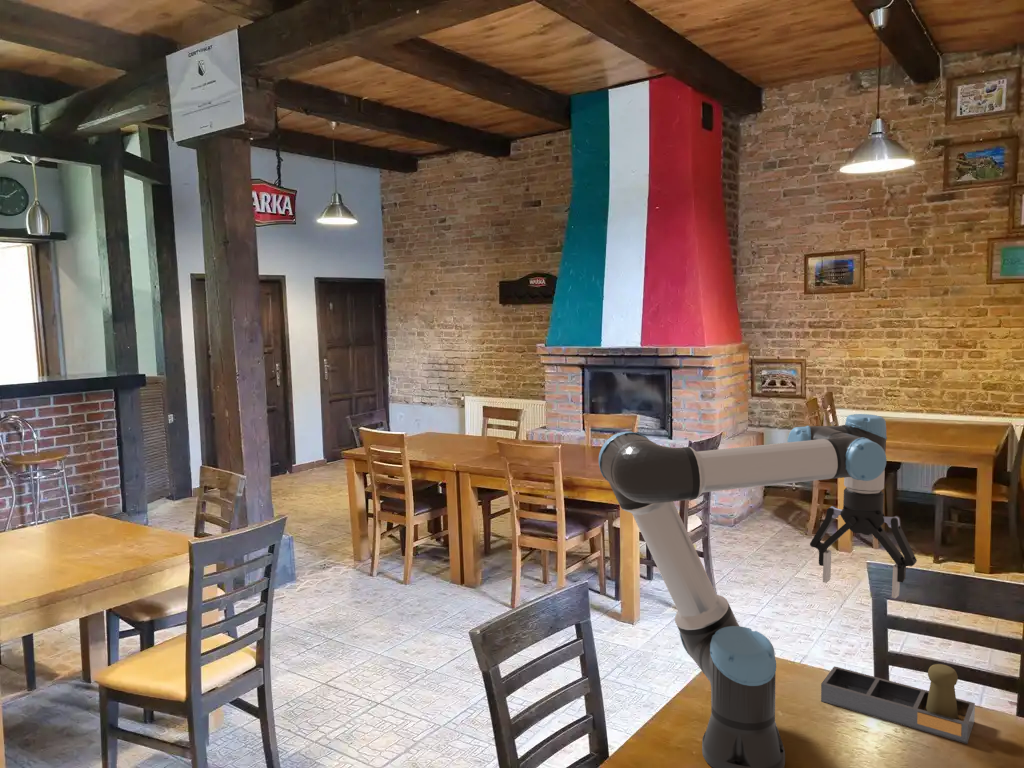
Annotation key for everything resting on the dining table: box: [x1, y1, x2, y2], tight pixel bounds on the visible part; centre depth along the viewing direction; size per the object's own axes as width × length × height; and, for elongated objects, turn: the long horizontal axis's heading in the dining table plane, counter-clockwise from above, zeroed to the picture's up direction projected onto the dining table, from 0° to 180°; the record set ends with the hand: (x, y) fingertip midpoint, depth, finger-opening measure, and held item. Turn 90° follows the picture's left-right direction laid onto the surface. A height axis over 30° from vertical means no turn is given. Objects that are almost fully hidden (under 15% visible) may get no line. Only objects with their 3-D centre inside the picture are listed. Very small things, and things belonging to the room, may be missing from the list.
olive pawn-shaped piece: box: [925, 663, 959, 720], centre depth 149 cm, size 6×6×11 cm
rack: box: [820, 666, 976, 745], centre depth 155 cm, size 27×10×4 cm, turn 51°
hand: (860, 588), depth 155 cm, fingers open, 13 cm apart
